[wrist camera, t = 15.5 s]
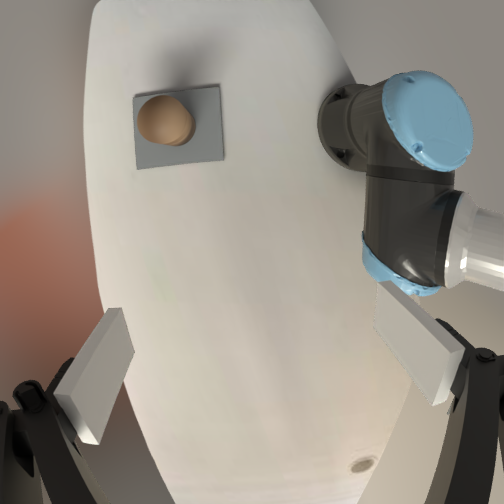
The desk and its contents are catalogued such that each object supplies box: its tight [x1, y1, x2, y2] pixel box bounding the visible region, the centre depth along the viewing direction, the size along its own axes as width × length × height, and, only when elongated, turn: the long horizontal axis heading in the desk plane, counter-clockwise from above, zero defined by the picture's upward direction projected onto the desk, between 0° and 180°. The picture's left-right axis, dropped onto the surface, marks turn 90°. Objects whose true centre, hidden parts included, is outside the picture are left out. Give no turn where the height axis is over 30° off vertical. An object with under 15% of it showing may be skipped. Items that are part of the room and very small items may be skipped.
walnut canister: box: [137, 95, 196, 146], centre depth 39 cm, size 6×6×12 cm
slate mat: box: [133, 87, 224, 170], centre depth 45 cm, size 14×12×1 cm
